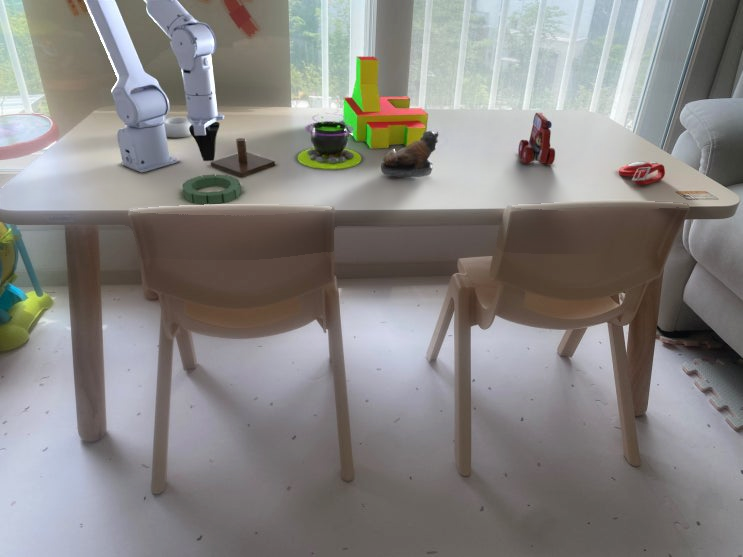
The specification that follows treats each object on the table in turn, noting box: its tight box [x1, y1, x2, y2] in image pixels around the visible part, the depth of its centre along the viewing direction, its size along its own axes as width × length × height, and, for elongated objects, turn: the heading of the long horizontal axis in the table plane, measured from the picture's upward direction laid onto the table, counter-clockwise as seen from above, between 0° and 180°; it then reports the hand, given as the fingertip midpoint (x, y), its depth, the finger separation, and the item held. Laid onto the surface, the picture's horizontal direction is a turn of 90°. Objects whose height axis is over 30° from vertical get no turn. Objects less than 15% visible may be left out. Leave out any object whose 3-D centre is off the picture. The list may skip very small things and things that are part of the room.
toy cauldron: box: [297, 109, 362, 170], centre depth 123 cm, size 15×15×11 cm
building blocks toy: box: [342, 56, 429, 149], centre depth 140 cm, size 19×25×18 cm
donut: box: [164, 116, 192, 139], centre depth 136 cm, size 10×4×10 cm
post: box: [210, 137, 276, 178], centre depth 118 cm, size 10×10×6 cm
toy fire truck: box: [517, 112, 556, 166], centre depth 127 cm, size 7×12×10 cm, turn 178°
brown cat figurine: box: [380, 130, 439, 178], centre depth 115 cm, size 12×7×10 cm, turn 89°
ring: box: [181, 173, 242, 205], centre depth 105 cm, size 11×11×2 cm
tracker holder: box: [617, 161, 666, 185], centre depth 121 cm, size 12×4×10 cm
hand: (208, 159), depth 111 cm, fingers closed
